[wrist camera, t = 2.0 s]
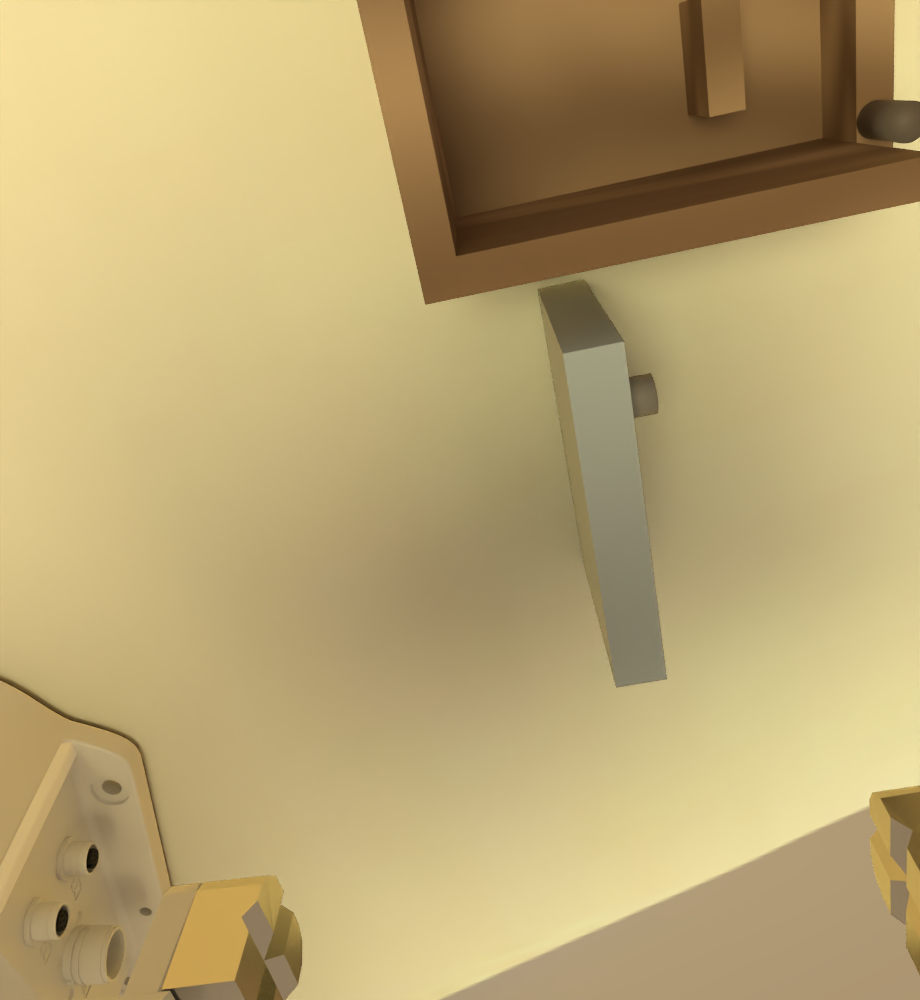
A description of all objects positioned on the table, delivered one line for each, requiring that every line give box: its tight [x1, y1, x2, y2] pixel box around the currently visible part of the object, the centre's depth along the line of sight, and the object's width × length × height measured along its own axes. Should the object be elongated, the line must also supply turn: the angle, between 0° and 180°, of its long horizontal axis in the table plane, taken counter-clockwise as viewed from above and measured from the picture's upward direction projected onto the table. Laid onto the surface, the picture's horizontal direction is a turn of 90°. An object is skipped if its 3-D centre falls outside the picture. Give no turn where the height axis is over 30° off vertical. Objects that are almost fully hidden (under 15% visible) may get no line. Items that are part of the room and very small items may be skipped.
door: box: [538, 280, 667, 687], centre depth 28 cm, size 11×3×8 cm, turn 12°
